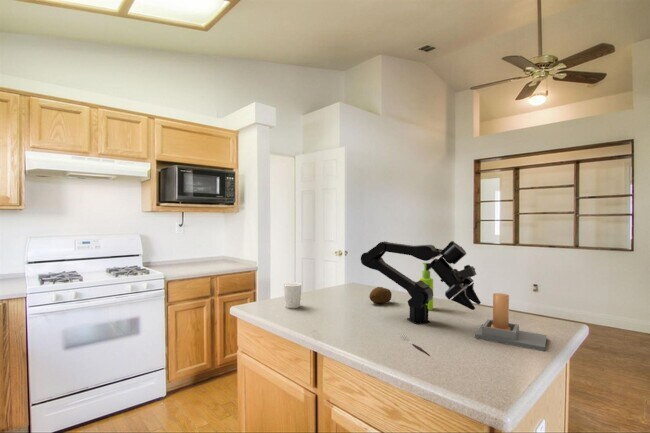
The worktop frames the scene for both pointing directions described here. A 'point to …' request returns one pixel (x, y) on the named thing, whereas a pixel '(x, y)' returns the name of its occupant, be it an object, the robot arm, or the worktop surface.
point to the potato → (380, 295)
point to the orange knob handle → (501, 311)
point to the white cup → (292, 295)
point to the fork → (413, 344)
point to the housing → (511, 336)
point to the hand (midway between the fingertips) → (477, 306)
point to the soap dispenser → (428, 281)
